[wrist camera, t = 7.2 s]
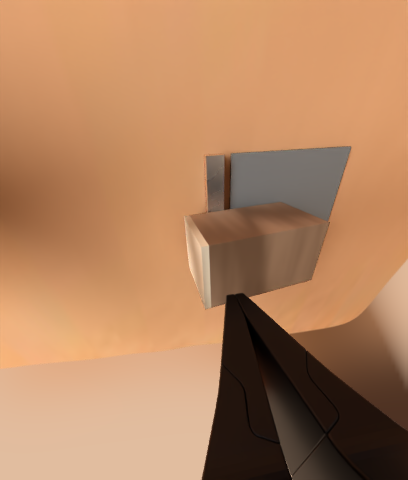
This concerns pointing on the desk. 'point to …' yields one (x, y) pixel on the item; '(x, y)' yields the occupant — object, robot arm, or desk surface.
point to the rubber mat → (288, 178)
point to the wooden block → (252, 250)
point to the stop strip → (214, 182)
